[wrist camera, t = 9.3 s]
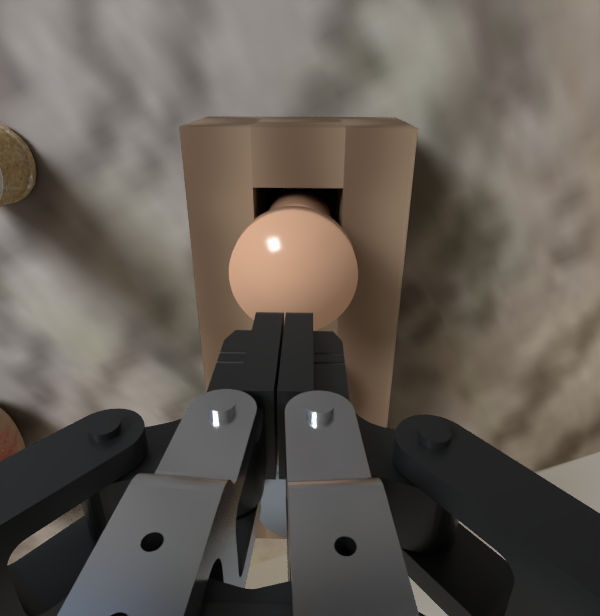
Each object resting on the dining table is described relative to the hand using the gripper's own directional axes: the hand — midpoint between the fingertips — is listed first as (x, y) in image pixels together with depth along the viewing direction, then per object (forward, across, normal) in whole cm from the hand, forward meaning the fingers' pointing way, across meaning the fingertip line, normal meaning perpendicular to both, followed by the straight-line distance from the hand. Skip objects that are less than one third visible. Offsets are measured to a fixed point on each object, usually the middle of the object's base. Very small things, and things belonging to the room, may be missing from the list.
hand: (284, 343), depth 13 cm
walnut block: (+16, 0, +8) cm, 18 cm away
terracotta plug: (+12, 0, 0) cm, 12 cm away
